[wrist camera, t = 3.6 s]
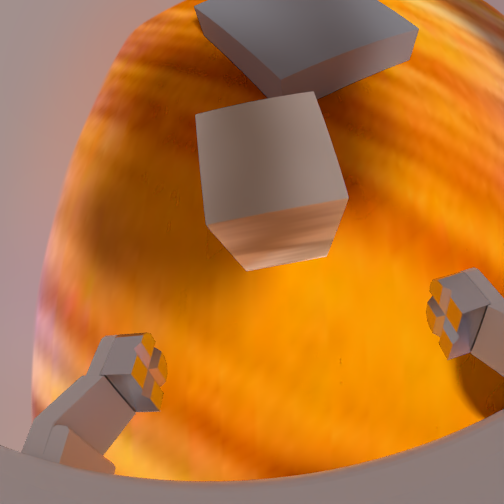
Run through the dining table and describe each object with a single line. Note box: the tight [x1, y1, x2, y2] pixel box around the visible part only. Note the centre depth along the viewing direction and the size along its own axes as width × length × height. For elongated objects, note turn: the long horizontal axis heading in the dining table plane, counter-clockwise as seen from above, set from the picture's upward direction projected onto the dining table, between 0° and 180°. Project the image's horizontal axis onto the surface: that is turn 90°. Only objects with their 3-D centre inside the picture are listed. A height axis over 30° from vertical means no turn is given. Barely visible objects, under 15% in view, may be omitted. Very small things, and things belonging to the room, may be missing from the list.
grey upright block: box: [195, 91, 349, 271], centre depth 16 cm, size 5×5×9 cm
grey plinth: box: [194, 0, 419, 99], centre depth 22 cm, size 14×14×4 cm
